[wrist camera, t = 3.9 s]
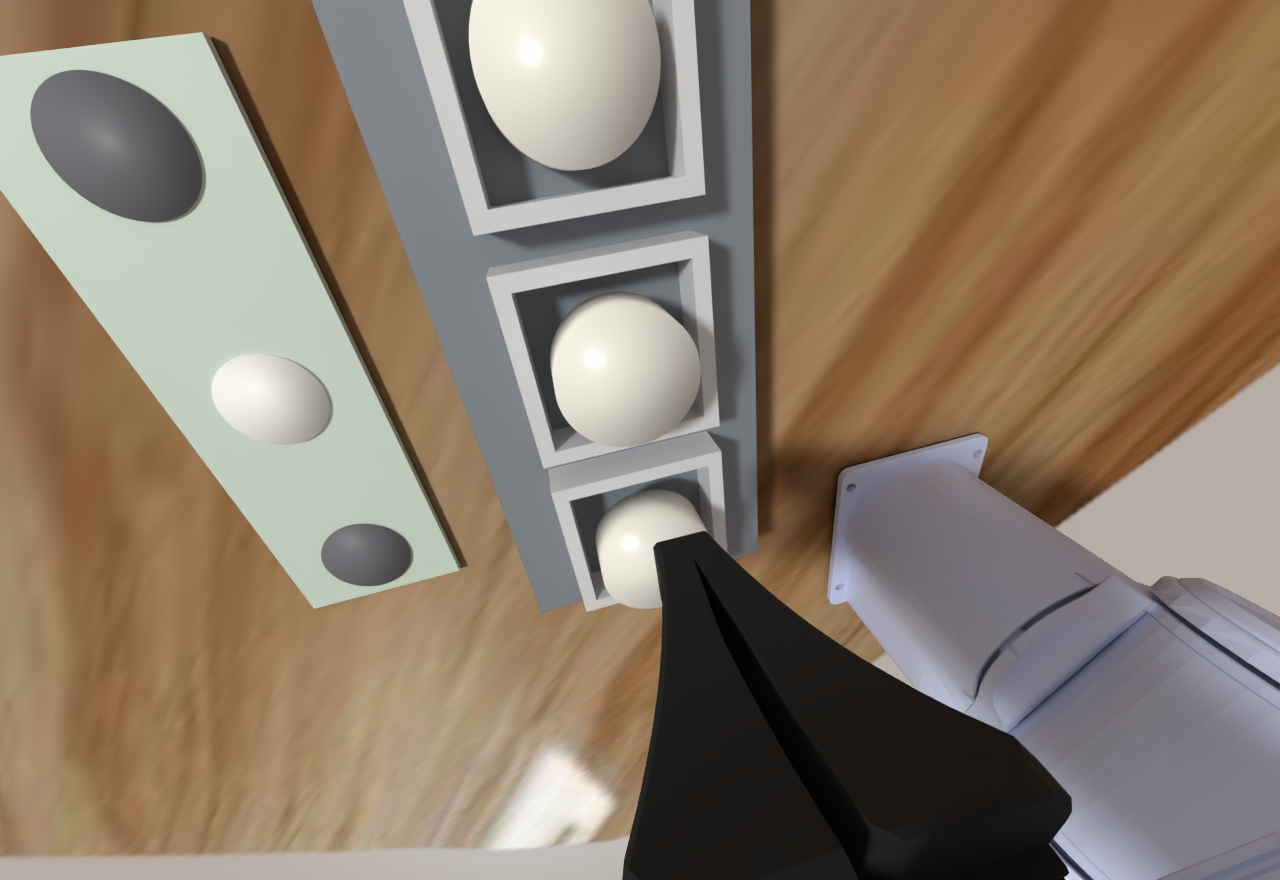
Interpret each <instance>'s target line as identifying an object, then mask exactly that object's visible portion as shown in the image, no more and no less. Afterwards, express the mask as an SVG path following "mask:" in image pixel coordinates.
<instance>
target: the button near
mask: <svg viewBox="0 0 1280 880" xmlns="http://www.w3.org/2000/svg"><path fill="white" fill-rule="evenodd" d="M469 48H470V58H471V63H472V68H473V73H474V76H475V80H476V83H477V86H478V89H479V92H480V94H481V96H482V99H483V101H484V103H485V105H486V108H487V110H488V112H489V114H490V116H491V118H492V120H493V121H494V123H495V125H496V126H497V128H498V129H499V131H500V132H501V133H502V135H503V136H504V137H505V138H506V139H507V141H508V142H509V143H510V144H511V145H512V146H513V147H514V148H515V149H516V150H518V151H519V152H520V153H521V154H523V155H524V156H525V157H527V158H528V159H530V160H532V161H534V162H536V163H537V164H539V165H542V166H545V167H548V168H551V169H556V170H563V171H574V170H584V169H590V168H594V167H599V166H601V165H603V164H606V163H608V162H610V161H612V160H613V159H615V158H617V157H618V156H620V155H621V154H622V153H623V152H625V151H626V150H627V149H628V148H629V147H630V146H631V145H632V144H633V143H634V142H635V141H636V139H637V138H638V136H639V135H640V134H641V132H642V131H643V129H644V127H645V125H646V123H647V122H648V120H649V118H650V115H651V113H652V110H653V108H654V104H655V101H656V97H657V93H658V88H659V81H660V69H661V56H660V43H659V36H658V31H657V27H656V23H655V19H654V15H653V13H652V10H651V7H650V4H649V2H648V0H473V2H472V6H471V12H470V20H469Z"/></svg>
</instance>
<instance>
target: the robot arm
mask: <svg viewBox="0 0 1280 880" xmlns="http://www.w3.org/2000/svg"><path fill="white" fill-rule="evenodd" d="M987 444H988V438H987V437H985V436H984V435H982V434H980V433H979V434H973V435H969V436H966V437H962V438H958V439H954V440H950V441H947V442H943V443H939V444H935V445H931V446H928V447H924V448H920V449H916V450H912V451H909V452H905V453H901V454H897V455H893V456H890V457H886V458H882V459H878V460H874V461H871V462H867V463H863V464H859V465H855V466H852V467H848V468H846V469H844V470H843V471H842V472H841V473H840V475H839V478H838V487H837V497H836V508H835V518H834V529H833V539H832V550H831V560H830V570H829V581H828V591H827V599H828V600H829V601H830V603H831V604H839V603H843V602H846V601H847V602H848V603H849V604H850V606H851V607H852V608H853V610H854V611H855V612H856V613H857V615H858V616H859V617H860V619H861V620H862V621H863V623H864V624H865V625H866V626H867V628H868V629H869V630H870V632H871V633H872V634H873V635H874V637H875V638H876V639H877V641H878V642H879V643H880V644H881V646H882V647H883V648H884V650H885V651H886V652H887V653H888V655H889V656H890V657H891V658H892V660H893V661H894V662H895V664H896V665H897V666H898V668H899V669H900V670H901V672H902V673H903V674H904V675H905V676H906V678H907V679H908V680H909V682H910V683H911V684H912V686H913V687H914V688H915V689H914V688H912V687H911V686H909V685H907V684H905V683H904V682H902V681H900V680H898V679H897V678H895V677H893V676H891V675H889V674H888V673H886V672H884V671H883V670H881V669H879V668H877V667H876V666H874V665H872V664H870V663H869V662H867V661H865V660H864V659H862V658H860V657H859V656H857V655H856V654H854V653H853V652H851V651H849V650H848V649H846V648H845V647H843V646H842V645H840V644H839V643H837V642H836V641H834V640H833V639H831V638H830V637H828V636H827V635H825V634H824V633H822V632H821V631H819V630H818V629H817V628H815V627H814V626H812V625H811V624H810V623H808V622H807V621H806V620H804V619H803V618H802V617H800V616H799V615H798V614H796V613H795V612H794V611H793V610H791V609H790V608H789V607H788V606H786V605H785V604H784V603H782V602H781V601H780V600H779V599H778V598H776V597H775V596H774V595H773V594H772V593H770V592H769V591H768V590H767V589H766V588H765V587H763V586H762V585H761V584H760V583H759V582H758V581H757V580H755V579H754V578H753V577H752V576H751V575H750V574H749V573H748V572H747V571H745V570H744V569H743V568H742V567H741V566H740V565H739V564H738V563H737V562H736V561H735V560H734V559H733V558H732V557H731V556H730V555H729V554H728V553H727V552H726V551H725V550H724V549H723V548H722V547H721V546H720V545H719V544H718V543H717V542H716V541H715V540H714V539H713V538H712V537H711V536H710V534H709V533H707V532H706V531H701V532H697V533H693V534H689V535H685V536H681V537H677V538H673V539H669V540H665V541H661V542H657V543H656V544H655V545H654V546H653V551H654V557H655V564H656V571H657V577H658V584H659V591H660V597H661V601H662V648H661V663H660V674H659V684H658V693H657V701H656V708H655V715H654V722H653V729H652V735H651V741H650V747H649V752H648V757H647V762H646V767H645V772H644V777H643V782H642V787H641V792H640V797H639V801H638V806H637V810H636V814H635V818H634V822H633V826H632V830H631V834H630V838H629V842H628V847H627V851H626V855H625V859H624V868H623V878H622V880H1280V617H1278V616H1276V615H1274V614H1273V613H1271V612H1269V611H1267V610H1265V609H1263V608H1262V607H1260V606H1258V605H1256V604H1254V603H1252V602H1250V601H1248V600H1246V599H1244V598H1243V597H1241V596H1239V595H1237V594H1235V593H1233V592H1231V591H1229V590H1227V589H1225V588H1223V587H1221V586H1219V585H1217V584H1214V583H1212V582H1210V581H1207V580H1205V579H1202V578H1180V579H1178V578H1175V577H1171V576H1164V577H1162V578H1160V579H1159V580H1158V581H1157V582H1156V583H1155V584H1154V585H1153V586H1151V587H1150V586H1147V585H1144V584H1141V583H1138V582H1136V581H1134V580H1132V579H1131V578H1129V577H1128V576H1126V575H1125V574H1123V573H1122V572H1120V571H1119V570H1117V569H1116V568H1114V567H1113V566H1111V565H1110V564H1108V563H1107V562H1105V561H1104V560H1102V559H1101V558H1099V557H1097V556H1096V555H1094V554H1093V553H1091V552H1090V551H1088V550H1087V549H1085V548H1084V547H1082V546H1081V545H1079V544H1078V543H1076V542H1075V541H1073V540H1072V539H1070V538H1069V537H1067V536H1065V535H1064V534H1062V533H1061V532H1059V531H1058V530H1056V529H1055V528H1053V527H1052V526H1050V525H1049V524H1047V523H1046V522H1044V521H1043V520H1041V519H1040V518H1038V517H1036V516H1035V515H1033V514H1032V513H1030V512H1029V511H1027V510H1026V509H1024V508H1023V507H1021V506H1020V505H1018V504H1017V503H1015V502H1014V501H1012V500H1011V499H1009V498H1008V497H1006V496H1004V495H1003V494H1001V493H1000V492H998V491H997V490H995V489H994V488H992V487H991V486H989V485H988V484H986V483H985V482H983V481H982V480H980V479H979V478H978V476H979V472H980V469H981V465H982V462H983V458H984V455H985V451H986V448H987ZM849 484H850V485H849ZM848 485H849V486H848ZM847 486H848V487H847Z"/></svg>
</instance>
